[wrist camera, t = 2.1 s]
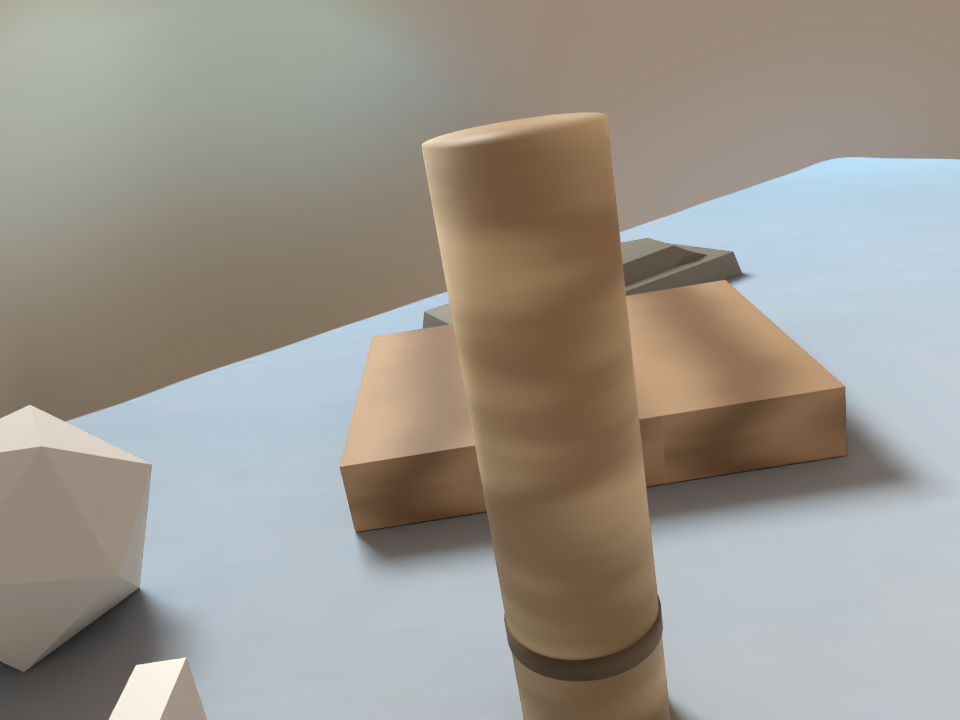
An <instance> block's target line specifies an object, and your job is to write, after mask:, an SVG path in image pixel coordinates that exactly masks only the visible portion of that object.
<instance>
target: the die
mask: <svg viewBox="0 0 960 720" xmlns="http://www.w3.org/2000/svg"><path fill="white" fill-rule="evenodd" d="M151 469H152V464H150V463H148V462H146V461H144V460H141V459H139V458H137V457H135V456H133V455H131V454H129V453H127V452H125V451H123V450H121V449H119V448H117V447H115V446H113V445H111V444H109V443H107V442H105V441H103V440H101V439H99V438H97V437H95V436H93V435H90V434H88V433H86V432H84V431H82V430H80V429H78V428H76V427H74V426H72V425H70V424H68V423H66V422H64V421H62V420H60V419H58V418H56V417H54V416H52V415H50V414H48V413H46V412H43V411H42V410H39V409H37V408H35V407H33V406H31V405H29V406H27V407H25V408H22V409H20V410H18V411H16V412H14V413H12V414H10V415H7V416H5V417H3V418H1V419H0V661H1V662H3V663H5V664H7V665H9V666H11V667H13V668H16V669H18V670H20V671H22V672H25V671H26V670H28V669H29V668H31V667H32V666H33V665H35V664H36V663H37V662H39V661H40V660H41V659H43V658H44V657H46V656H47V655H48V654H50V653H51V652H52V651H54V650H55V649H57V648H58V647H59V646H61V645H62V644H63V643H65V642H66V641H67V640H69V639H70V638H72V637H73V636H74V635H76V634H77V633H78V632H80V631H81V630H83V629H84V628H85V627H87V626H88V625H89V624H91V623H92V622H94V621H95V620H96V619H98V618H99V617H100V616H102V615H103V614H104V613H106V612H107V611H109V610H110V609H111V608H113V607H114V606H115V605H117V604H118V603H120V602H121V601H122V600H124V599H125V598H126V597H128V596H129V595H130V594H132V593H133V592H135V591H136V590H137V589H139V588H140V578H141V568H142V558H143V548H144V538H145V528H146V519H147V509H148V499H149V489H150V479H151Z"/></svg>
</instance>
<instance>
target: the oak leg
mask: <svg viewBox="0 0 960 720" xmlns="http://www.w3.org/2000/svg"><path fill="white" fill-rule="evenodd" d="M422 151H423V156H424V161H425V167H426V172H427V179H428V184H429V190H430V196H431V201H432V207H433V212H434V218H435V224H436V229H437V235H438V240H439V246H440V252H441V257H442V263H443V268H444V274H445V279H446V285H447V291H448V296H449V302H450V308H451V313H452V319H453V325H454V330H455V336H456V341H457V347H458V353H459V358H460V364H461V369H462V375H463V381H464V386H465V392H466V397H467V403H468V409H469V414H470V420H471V425H472V431H473V437H474V442H475V448H476V454H477V459H478V465H479V470H480V476H481V482H482V487H483V493H484V498H485V504H486V510H487V515H488V521H489V526H490V532H491V538H492V543H493V549H494V554H495V560H496V566H497V571H498V577H499V583H500V588H501V594H502V599H503V605H504V611H505V614H504V621H505V627H506V633H507V638H508V643H509V647H510V649H511V652H512V655H513V661H514V667H515V672H516V678H517V683H518V689H519V695H520V700H521V706H522V712H523V717H524V720H670V708H669V699H668V689H667V680H666V670H665V661H664V651H663V642H662V630H663V625H662V614H661V604H660V600H659V596H658V594H657V585H656V575H655V566H654V556H653V547H652V537H651V528H650V519H649V509H648V500H647V490H646V481H645V471H644V462H643V452H642V443H641V433H640V424H639V414H638V405H637V395H636V386H635V376H634V367H633V357H632V348H631V338H630V329H629V319H628V310H627V300H626V291H625V282H624V272H623V263H622V253H621V244H620V234H619V225H618V215H617V206H616V196H615V187H614V177H613V168H612V158H611V150H610V140H609V130H608V121H607V115H606V114H603V113H568V114H557V115H548V116H539V117H532V118H525V119H518V120H512V121H506V122H500V123H495V124H489V125H484V126H479V127H474V128H470V129H466V130H461V131H457V132H453V133H449V134H446V135H442V136H439V137H436V138H433V139H431V140H428V141H426V142H424V143H423V144H422Z"/></svg>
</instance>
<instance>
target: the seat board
mask: <svg viewBox="0 0 960 720" xmlns="http://www.w3.org/2000/svg"><path fill="white" fill-rule="evenodd" d="M626 300H627V310H628V319H629V329H630V338H631V348H632V357H633V367H634V376H635V386H636V395H637V405H638V414H639V424H640V433H641V443H642V452H643V462H644V471H645V481H646V487H647V486H653V485H659V484H666V483H672V482H678V481H685V480H691V479H698V478H704V477H710V476H717V475H723V474H730V473H736V472H742V471H749V470H755V469H761V468H768V467H774V466H781V465H787V464H793V463H800V462H806V461H813V460H819V459H825V458H832V457H838V456H844V455H846V397H845V386H844V385H843V384H842V383H841V382H839V381H838V380H837V379H836V378H835V377H834V376H833V375H832V374H830V373H829V372H828V371H827V370H826V369H825V368H824V367H823V366H821V365H820V364H819V363H818V362H817V361H816V360H815V359H814V358H812V357H811V356H810V355H809V354H808V353H807V352H806V351H805V350H803V349H802V348H801V347H800V346H799V345H798V344H797V343H796V342H794V341H793V340H792V339H791V338H790V337H789V336H788V335H787V334H785V333H784V332H783V331H782V330H781V329H780V328H779V327H778V326H776V325H775V324H774V323H773V322H772V321H771V320H770V319H769V318H767V317H766V316H765V315H764V314H763V313H762V312H761V311H760V310H758V309H757V308H756V307H755V306H754V305H753V304H752V303H751V302H749V301H748V300H747V299H746V298H745V297H744V296H743V295H742V294H740V293H739V292H738V291H737V290H736V289H735V288H734V287H733V286H731V285H730V284H729V283H728V282H727V281H726V280H721V281H715V282H709V283H703V284H697V285H690V286H684V287H678V288H672V289H666V290H659V291H653V292H647V293H641V294H635V295H629V296H626ZM340 470H341V474H342V478H343V483H344V487H345V491H346V495H347V499H348V504H349V508H350V512H351V516H352V520H353V524H354V529H355V532H359V531H366V530H372V529H378V528H385V527H391V526H397V525H404V524H410V523H417V522H423V521H429V520H436V519H442V518H449V517H455V516H461V515H468V514H474V513H480V512H487V510H486V504H485V498H484V493H483V487H482V482H481V476H480V470H479V465H478V459H477V454H476V448H475V442H474V437H473V431H472V425H471V420H470V414H469V409H468V403H467V397H466V392H465V386H464V381H463V375H462V369H461V364H460V358H459V353H458V347H457V341H456V336H455V330H454V325H453V324H449V325H443V326H437V327H431V328H425V329H418V330H412V331H406V332H400V333H394V334H388V335H381V336H375V337H372V341H371V345H370V349H369V353H368V357H367V361H366V365H365V369H364V373H363V377H362V381H361V385H360V389H359V393H358V397H357V400H356V404H355V408H354V412H353V416H352V420H351V424H350V428H349V432H348V436H347V440H346V444H345V448H344V452H343V456H342V460H341V464H340Z"/></svg>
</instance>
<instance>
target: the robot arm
mask: <svg viewBox="0 0 960 720" xmlns="http://www.w3.org/2000/svg"><path fill="white" fill-rule="evenodd" d="M109 720H207V718H206V715H205V712H204V709H203V706H202V703H201V700H200V697H199V694H198V691H197V688H196V685H195V682H194V679H193V676H192V673H191V670H190V667H189V664H188V661H187V658H180V659H173V660H166V661H160V662H153V663H147V664H140V665H136V666H135V668H134V670H133V672H132V674H131V676H130V678H129V680H128V682H127V684H126V686H125V688H124V690H123V692H122V694H121V696H120V698H119V700H118V702H117V704H116V706H115V708H114V710H113V712H112V714H111V716H110V718H109Z"/></svg>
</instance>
